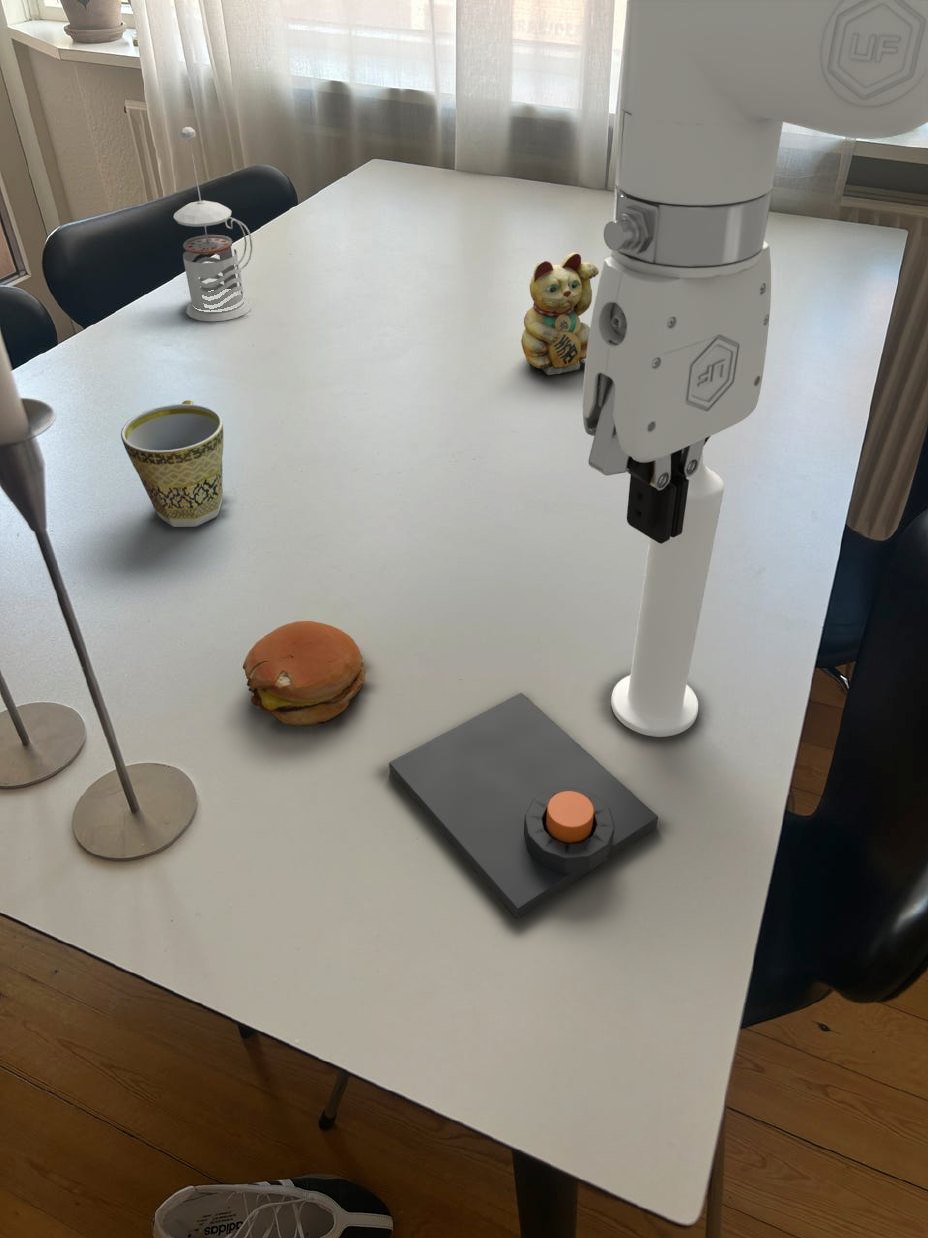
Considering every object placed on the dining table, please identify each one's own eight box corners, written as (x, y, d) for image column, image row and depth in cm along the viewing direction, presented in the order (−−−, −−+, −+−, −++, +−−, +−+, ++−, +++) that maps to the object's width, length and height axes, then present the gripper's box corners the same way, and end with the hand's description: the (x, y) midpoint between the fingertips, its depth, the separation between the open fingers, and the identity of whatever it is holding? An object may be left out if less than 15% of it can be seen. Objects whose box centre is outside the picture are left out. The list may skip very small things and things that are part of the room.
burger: (365, 647, 86) (361, 607, 83) (365, 723, 79) (360, 682, 76) (254, 654, 85) (245, 614, 82) (243, 731, 78) (233, 690, 75)
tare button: (601, 828, 67) (603, 812, 66) (566, 851, 66) (568, 835, 65) (571, 799, 69) (573, 783, 68) (536, 820, 68) (537, 804, 67)
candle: (593, 704, 80) (622, 438, 64) (648, 665, 84) (688, 403, 68) (660, 751, 76) (709, 479, 60) (714, 708, 80) (774, 440, 64)
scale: (662, 832, 70) (667, 805, 68) (522, 925, 64) (523, 899, 62) (521, 702, 80) (522, 676, 79) (389, 772, 75) (387, 746, 73)
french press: (174, 307, 146) (136, 126, 130) (240, 287, 152) (212, 112, 136) (206, 326, 140) (171, 140, 124) (274, 305, 146) (249, 124, 130)
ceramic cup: (229, 536, 99) (212, 450, 93) (132, 537, 99) (108, 452, 93) (249, 470, 109) (234, 389, 103) (161, 471, 109) (141, 390, 103)
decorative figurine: (538, 383, 125) (543, 268, 116) (506, 359, 131) (508, 247, 121) (599, 367, 129) (609, 253, 119) (566, 344, 134) (572, 234, 125)
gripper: (633, 279, 42) (606, 606, 54) (845, 208, 49) (781, 513, 61) (524, 238, 47) (521, 546, 59) (731, 178, 54) (692, 466, 65)
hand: (653, 529), depth 60 cm, fingers closed
